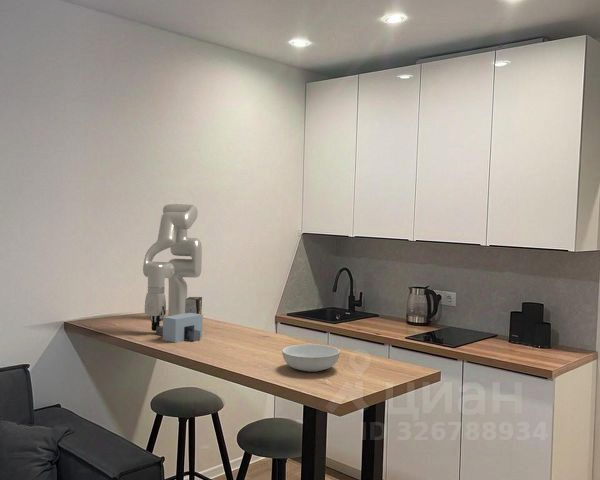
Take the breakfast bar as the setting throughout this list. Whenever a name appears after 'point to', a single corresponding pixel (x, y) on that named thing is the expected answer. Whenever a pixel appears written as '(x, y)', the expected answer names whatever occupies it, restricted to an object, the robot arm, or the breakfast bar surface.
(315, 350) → the serving bowl
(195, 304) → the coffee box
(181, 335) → the cross-hole block
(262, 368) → the breakfast bar surface
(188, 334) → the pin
